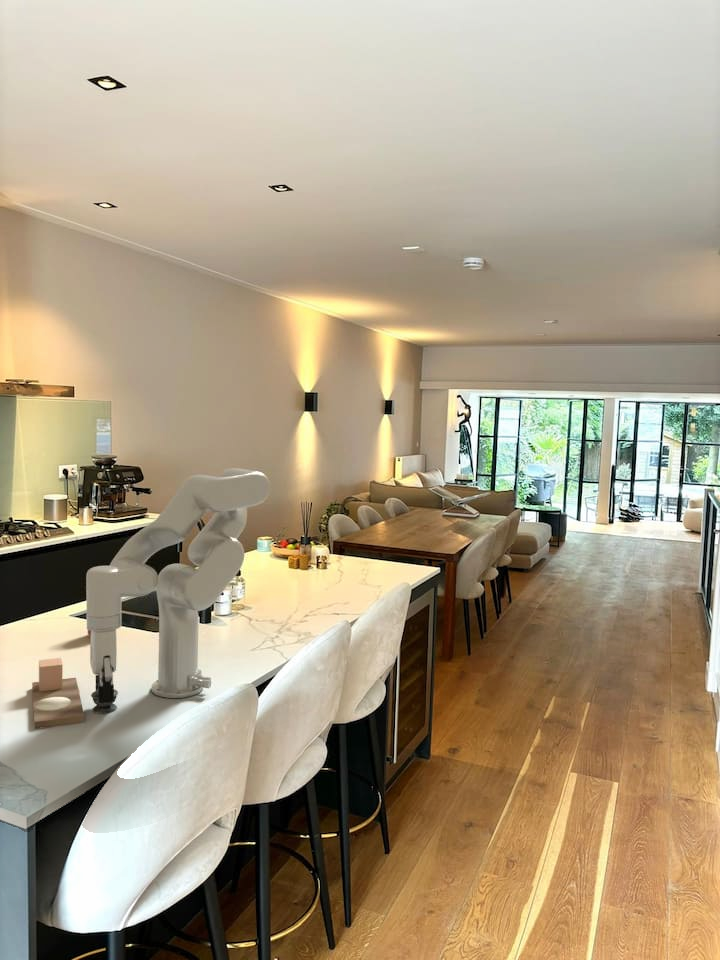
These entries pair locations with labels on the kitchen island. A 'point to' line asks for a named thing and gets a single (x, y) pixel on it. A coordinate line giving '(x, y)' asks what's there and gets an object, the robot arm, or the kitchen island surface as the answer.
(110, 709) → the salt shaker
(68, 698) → the walnut board
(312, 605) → the kitchen island surface
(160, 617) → the robot arm
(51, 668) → the cover block
